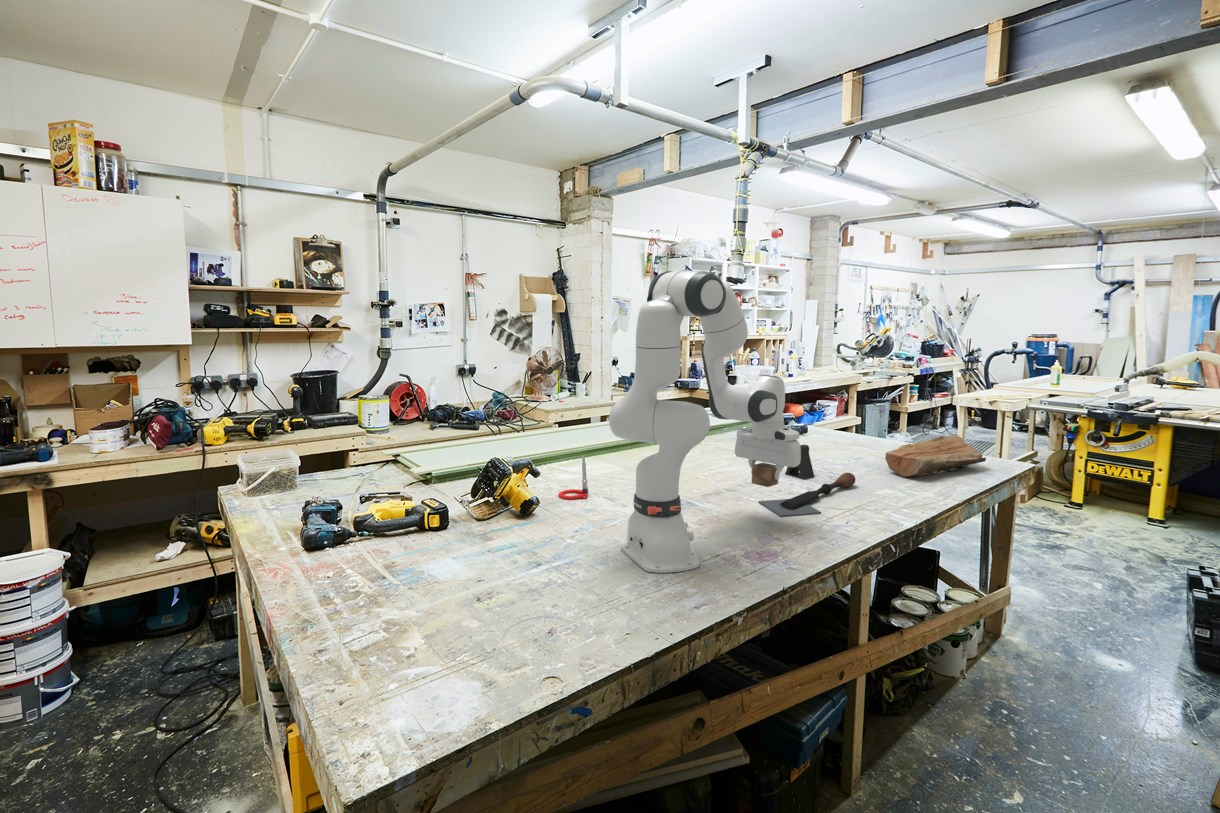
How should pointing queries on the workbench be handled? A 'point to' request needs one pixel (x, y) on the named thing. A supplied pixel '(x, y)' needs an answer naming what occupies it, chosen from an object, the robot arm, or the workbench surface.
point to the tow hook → (582, 493)
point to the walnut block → (763, 474)
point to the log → (932, 456)
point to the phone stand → (802, 466)
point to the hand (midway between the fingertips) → (765, 476)
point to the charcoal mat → (784, 511)
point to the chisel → (819, 491)
